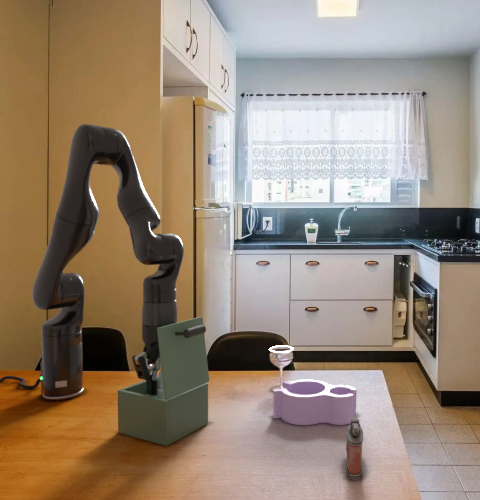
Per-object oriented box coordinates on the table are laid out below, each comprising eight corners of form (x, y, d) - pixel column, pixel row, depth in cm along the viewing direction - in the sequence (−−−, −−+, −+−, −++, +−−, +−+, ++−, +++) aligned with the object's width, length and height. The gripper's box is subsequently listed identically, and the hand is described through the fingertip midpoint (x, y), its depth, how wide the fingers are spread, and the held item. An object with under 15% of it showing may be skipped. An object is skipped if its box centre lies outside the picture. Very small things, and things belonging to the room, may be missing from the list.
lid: (156, 327, 105) (174, 327, 103) (199, 316, 117) (216, 316, 115) (164, 399, 105) (182, 400, 103) (206, 381, 117) (224, 381, 115)
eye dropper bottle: (162, 427, 112) (162, 376, 111) (144, 422, 114) (144, 372, 113) (177, 420, 116) (177, 370, 115) (159, 415, 118) (159, 367, 117)
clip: (359, 409, 128) (359, 383, 128) (348, 429, 116) (349, 401, 116) (286, 402, 132) (286, 377, 131) (268, 421, 119) (269, 394, 119)
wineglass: (266, 387, 143) (267, 346, 142) (289, 384, 146) (290, 344, 145) (271, 395, 137) (271, 353, 136) (295, 392, 139) (295, 351, 138)
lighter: (345, 458, 102) (346, 412, 102) (361, 458, 103) (362, 412, 102) (346, 479, 94) (347, 429, 94) (363, 479, 95) (364, 429, 94)
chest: (118, 432, 112) (117, 390, 111) (162, 412, 124) (162, 373, 123) (166, 446, 106) (166, 401, 105) (208, 423, 118) (208, 383, 117)
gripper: (171, 312, 121) (172, 380, 123) (121, 324, 108) (122, 399, 110) (195, 315, 118) (195, 384, 120) (146, 327, 105) (147, 405, 107)
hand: (160, 391), depth 115 cm, fingers closed on eye dropper bottle, 4 cm apart
